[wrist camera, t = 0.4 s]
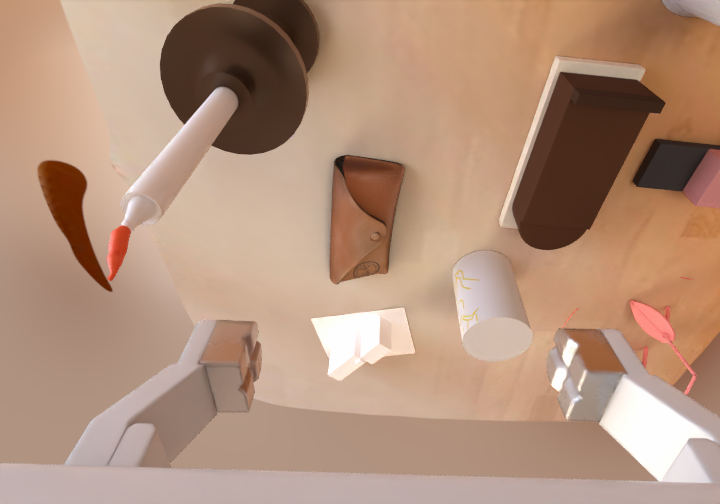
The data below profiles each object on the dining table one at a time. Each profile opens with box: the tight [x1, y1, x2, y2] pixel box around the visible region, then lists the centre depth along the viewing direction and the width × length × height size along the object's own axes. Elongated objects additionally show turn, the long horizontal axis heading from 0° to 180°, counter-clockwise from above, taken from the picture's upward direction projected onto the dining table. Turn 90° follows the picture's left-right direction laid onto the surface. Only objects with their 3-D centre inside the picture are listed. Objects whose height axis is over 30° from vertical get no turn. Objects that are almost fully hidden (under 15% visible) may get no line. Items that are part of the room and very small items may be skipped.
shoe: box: [499, 56, 665, 250], centre depth 48 cm, size 20×8×8 cm, turn 175°
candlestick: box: [107, 0, 319, 281], centre depth 31 cm, size 11×11×35 cm
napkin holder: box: [311, 307, 415, 381], centre depth 70 cm, size 15×11×6 cm
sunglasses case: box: [330, 155, 405, 284], centre depth 57 cm, size 18×7×7 cm, turn 176°
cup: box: [452, 250, 533, 362], centre depth 58 cm, size 8×8×12 cm
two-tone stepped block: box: [633, 139, 720, 208], centre depth 49 cm, size 11×5×4 cm, turn 85°
